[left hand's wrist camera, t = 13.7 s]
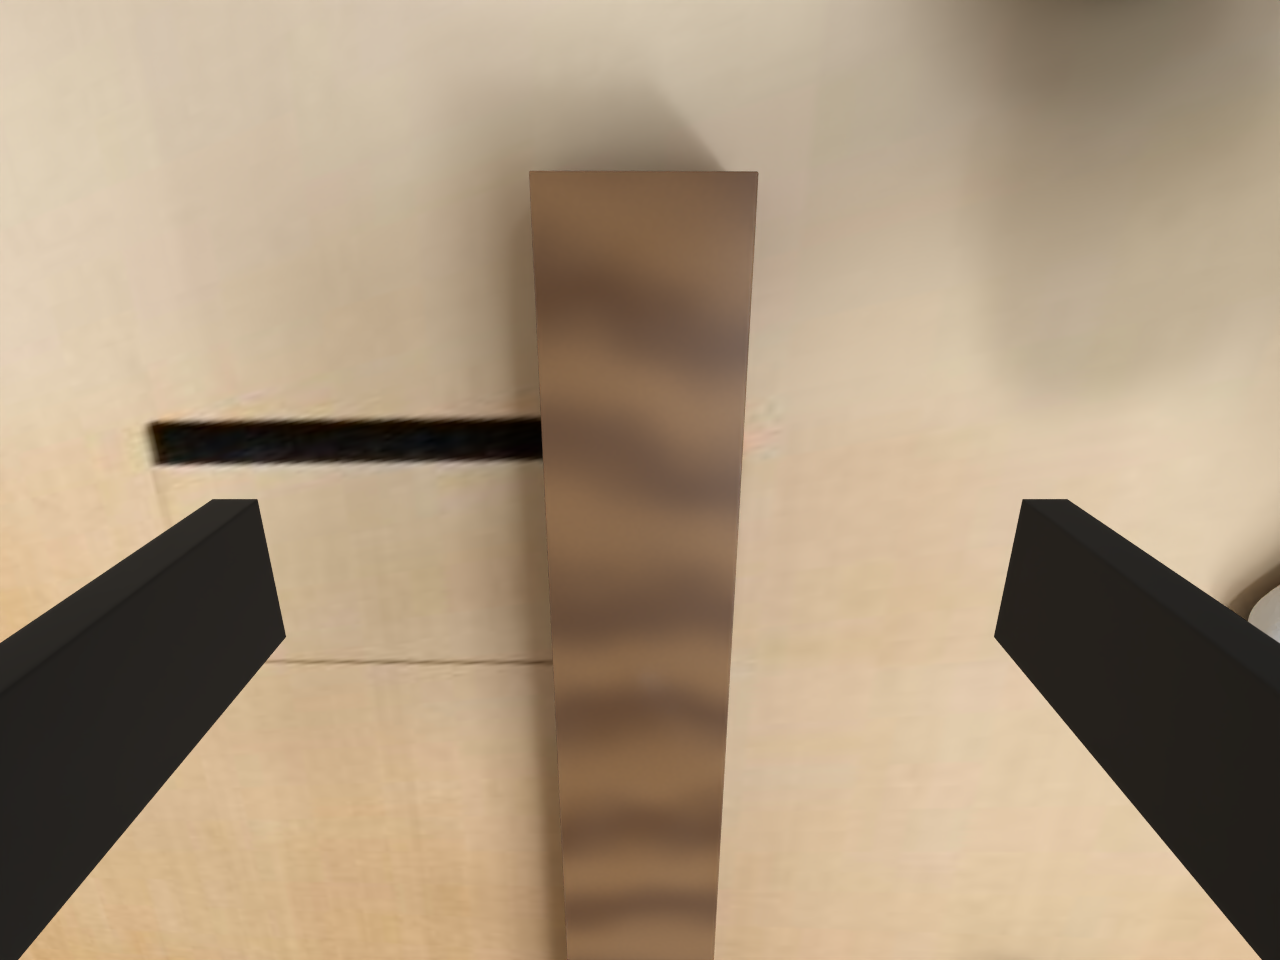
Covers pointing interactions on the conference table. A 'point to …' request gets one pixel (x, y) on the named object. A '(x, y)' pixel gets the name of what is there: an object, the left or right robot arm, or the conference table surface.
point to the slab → (642, 536)
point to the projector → (1268, 614)
